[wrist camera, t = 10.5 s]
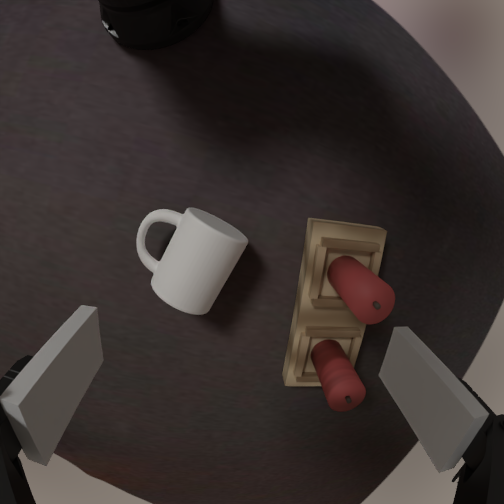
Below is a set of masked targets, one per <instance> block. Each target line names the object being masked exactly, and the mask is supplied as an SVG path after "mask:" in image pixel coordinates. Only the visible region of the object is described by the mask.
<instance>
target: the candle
mask: <svg viewBox="0 0 504 504" xmlns="http://www.w3.org/2000/svg"><path fill="white" fill-rule="evenodd" d="M327 278H328V281H329V283H330V285H331V286H332V287H333V288H334V290H335V291H336V292H337V293H338V295H339V296H340V297H341V298H342V300H343V301H344V302H345V303H346V305H347V306H348V307H349V308H350V310H351V311H352V312H353V313H354V315H355V316H356V317H357V319H358V320H359V321H361V322H362V323H365V324H376V323H379V322H381V321H382V320H384V319H385V318H386V317H387V316H388V315H389V314H390V313H391V311H392V309H393V307H394V303H395V294H394V291H393V289H392V288H391V287H390V286H389V285H388V284H387V283H385V282H384V281H383V280H382V279H380V278H379V277H378V276H377V275H375V274H374V273H373V272H372V271H370V270H369V269H368V268H367V267H365V266H364V265H363V264H362V263H360V262H359V261H358V260H356V259H355V258H354V257H352V256H348V255H344V256H340V257H338V258H336V259H335V260H333V261H332V263H331V264H330V266H329V268H328V271H327Z"/></svg>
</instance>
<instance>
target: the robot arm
mask: <svg viewBox="0 0 504 504" xmlns="http://www.w3.org/2000/svg"><path fill="white" fill-rule="evenodd" d="M98 1H99V4H100V13H101V19H102V23H103V25H104V27H105V29H106V30H107V32H108V33H109V34H110V35H111V36H112V37H113V38H114V39H115V40H116V41H117V42H119V43H120V44H122V45H124V46H127V47H130V48H133V49H141V50H149V49H157V48H162V47H166V46H169V45H172V44H174V43H177V42H179V41H181V40H182V39H184V38H186V37H187V36H189V35H190V34H192V33H193V32H194V31H195V30H196V29H198V28H199V27H200V26H201V24H202V23H203V22H204V21H205V19H206V18H207V16H208V14H209V12H210V10H211V7H212V3H213V0H98ZM103 361H104V360H103V354H102V346H101V339H100V330H99V321H98V312H97V307H91V306H85V305H81V306H80V307H79V308H78V309H77V310H76V311H75V312H74V314H73V315H72V316H71V317H70V318H69V319H68V320H67V321H66V322H65V323H64V324H63V325H62V326H61V327H60V328H59V329H58V330H57V332H56V333H55V334H54V335H53V336H52V337H51V338H50V339H49V340H48V341H47V342H46V344H45V345H44V346H43V347H42V348H41V349H40V350H39V351H38V352H37V354H36V355H35V356H34V357H33V356H29V355H27V356H25V357H24V358H22V359H20V360H18V361H17V362H16V363H15V364H14V365H13V366H12V367H11V368H10V371H8V372H7V373H6V374H5V376H4V377H2V379H1V380H0V504H36V503H35V500H34V498H33V495H32V493H31V490H30V487H29V484H28V482H27V479H26V476H25V473H24V470H23V467H22V464H21V461H20V459H19V457H18V454H19V452H20V450H21V449H23V451H24V453H25V455H26V457H27V458H28V459H29V460H32V461H34V462H37V463H39V464H42V465H45V466H47V464H48V462H49V460H50V458H51V456H52V454H53V452H54V450H55V448H56V446H57V444H58V442H59V440H60V438H61V436H62V434H63V433H64V431H65V429H66V427H67V425H68V423H69V421H70V419H71V417H72V416H73V414H74V412H75V410H76V408H77V406H78V405H79V403H80V401H81V399H82V397H83V396H84V394H85V392H86V390H87V388H88V387H89V385H90V383H91V381H92V380H93V378H94V376H95V374H96V373H97V371H98V369H99V367H100V366H101V364H102V362H103ZM379 377H380V379H381V380H382V382H383V383H384V385H385V386H386V388H387V390H388V391H389V393H390V394H391V396H392V397H393V399H394V401H395V402H396V404H397V405H398V407H399V408H400V410H401V412H402V413H403V415H404V416H405V418H406V420H407V421H408V423H409V425H410V426H411V428H412V429H413V431H414V433H415V434H416V436H417V437H418V439H419V441H420V442H421V444H422V446H423V447H424V449H425V451H426V452H427V454H428V456H429V457H430V459H431V461H432V462H433V464H434V466H435V467H436V469H437V470H438V472H439V473H440V472H443V471H446V470H449V469H452V468H454V467H455V466H456V464H457V463H458V461H459V460H460V459H461V457H463V459H464V461H465V463H464V465H463V466H462V467H461V469H460V470H459V471H458V473H457V474H456V475H455V477H454V478H453V480H452V482H454V481H455V480H456V479H457V478H458V477H459V481H458V485H457V490H456V494H455V498H454V502H453V504H504V415H503V414H501V415H498V416H496V415H495V414H494V412H493V411H492V410H491V409H490V408H489V407H488V406H487V405H486V404H485V402H484V401H483V400H482V399H481V398H480V397H478V395H477V394H476V393H475V392H474V391H473V390H472V388H471V387H470V386H469V385H468V384H467V383H466V382H465V381H463V380H462V379H460V378H458V377H457V376H455V375H454V374H453V373H452V372H451V371H450V370H449V369H448V368H447V367H446V366H445V365H444V364H443V363H442V362H441V361H440V360H439V358H438V357H437V356H436V355H435V354H434V353H433V352H432V351H431V350H430V349H429V348H428V347H427V346H426V345H425V344H424V343H423V342H422V341H421V340H420V339H419V338H418V337H417V336H416V335H415V334H414V333H413V332H412V331H411V330H410V329H409V328H408V327H394V329H393V333H392V336H391V339H390V343H389V346H388V349H387V352H386V355H385V358H384V361H383V364H382V367H381V370H380V373H379Z"/></svg>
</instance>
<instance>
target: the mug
mask: <svg viewBox="0 0 504 504" xmlns="http://www.w3.org/2000/svg"><path fill="white" fill-rule="evenodd" d="M159 221H161V222H167V223H170V224H173V225H175V226H176V227H177V229H176V231H175V233H174V235H173V237H172V239H171V241H170V243H169V245H168V247H167V249H166V251H165V253H164V255H163V257H162V259H161V261H157V260H156V259H154V258H153V257H152V256H151V255H150V254H149V253H148V251H147V250H146V247H145V236H146V233H147V230H148V228H149V226H150V225H151V224H152V223H154V222H159ZM247 244H248V239H247V238H246V237H245V235H243V234H242V233H241V232H240V231H239V230H237V229H236V228H234V227H233V226H231V225H230V224H228V223H227V222H225V221H223V220H221V219H219V218H218V217H216V216H214V215H212V214H210V213H207V212H205V211H202V210H200V209H196V208H188V209H187V210H186V211H185V213H184V214H181V213H178V212H176V211H173V210H168V209H159V210H155V211H153V212H151V213H150V214H148V215H147V216H146V217H145V219H144V220H143V221H142V223H141V225H140V227H139V230H138V234H137V251H138V255H139V257H140V259H141V261H142V263H143V264H144V265H145V266H146V267H147V268H148V269H149V270H150V271H151V272H153V274H154V275H153V277H152V280H151V285H152V288H153V290H154V291H155V293H156V294H157V295H158V296H159V297H160V298H161V299H162V300H163V301H165V302H166V303H167V304H169V305H171V306H172V307H174V308H176V309H178V310H180V311H183V312H186V313H189V314H195V315H202V314H205V313H207V312H208V311H209V310H210V308H211V307H212V305H213V303H214V301H215V300H216V298H217V296H218V294H219V293H220V291H221V289H222V287H223V286H224V284H225V282H226V280H227V279H228V277H229V275H230V274H231V272H232V270H233V268H234V267H235V265H236V263H237V261H238V260H239V258H240V256H241V255H242V253H243V251H244V249H245V248H246V246H247Z"/></svg>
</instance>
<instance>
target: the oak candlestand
mask: <svg viewBox="0 0 504 504" xmlns="http://www.w3.org/2000/svg"><path fill="white" fill-rule="evenodd" d="M386 233H387V231H386V230H384V229H382V228H380V227H378V226H371V225H364V224H356V223H348V222H340V221H332V220H323V219H315V218H308V223H307V230H306V237H305V244H304V251H303V257H302V264H301V270H300V277H299V283H298V289H297V295H296V301H295V307H294V313H293V319H292V325H291V330H290V336H289V341H288V347H287V352H286V358H285V363H284V368H283V373H282V375H283V380H284V384H285V386H322V388H323V391H324V394H325V396H326V399H327V401H328V404H329V406H330V408H331V409H333V410H335V411H339V412H343V411H348V410H351V409H353V408H355V407H356V406H358V405H359V404H360V403H361V402H362V401H363V399H364V397H365V394H366V390H365V387H364V385H363V384H362V382H361V380H360V378H359V376H358V375H357V373H356V371H355V369H354V366H355V362H356V359H357V356H358V352H359V349H360V345H361V342H362V338H363V335H364V331H365V327H366V324H365V323H362V322H361V321H359V320H358V319H357V317H356V316H355V315H354V313H353V312H352V311H351V310H350V308H349V307H348V306H347V305H346V303H345V302H344V301H343V300H342V298H341V297H340V296H339V295H338V293H337V292H336V291H335V290H334V288H333V287H332V286H331V285H330V283H329V281H328V278H327V271H328V268H329V266H330V264H331V263H332V261H333V260H335V259H336V258H338V257H340V256H344V255H348V256H352V257H354V258H355V259H356V260H358V261H359V262H360V263H362V264H363V265H364V266H365V267H367V268H368V269H369V270H370V271H372V272H373V273H374V274H375V275H377V276H378V274H379V269H380V264H381V259H382V254H383V249H384V244H385V239H386Z"/></svg>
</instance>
